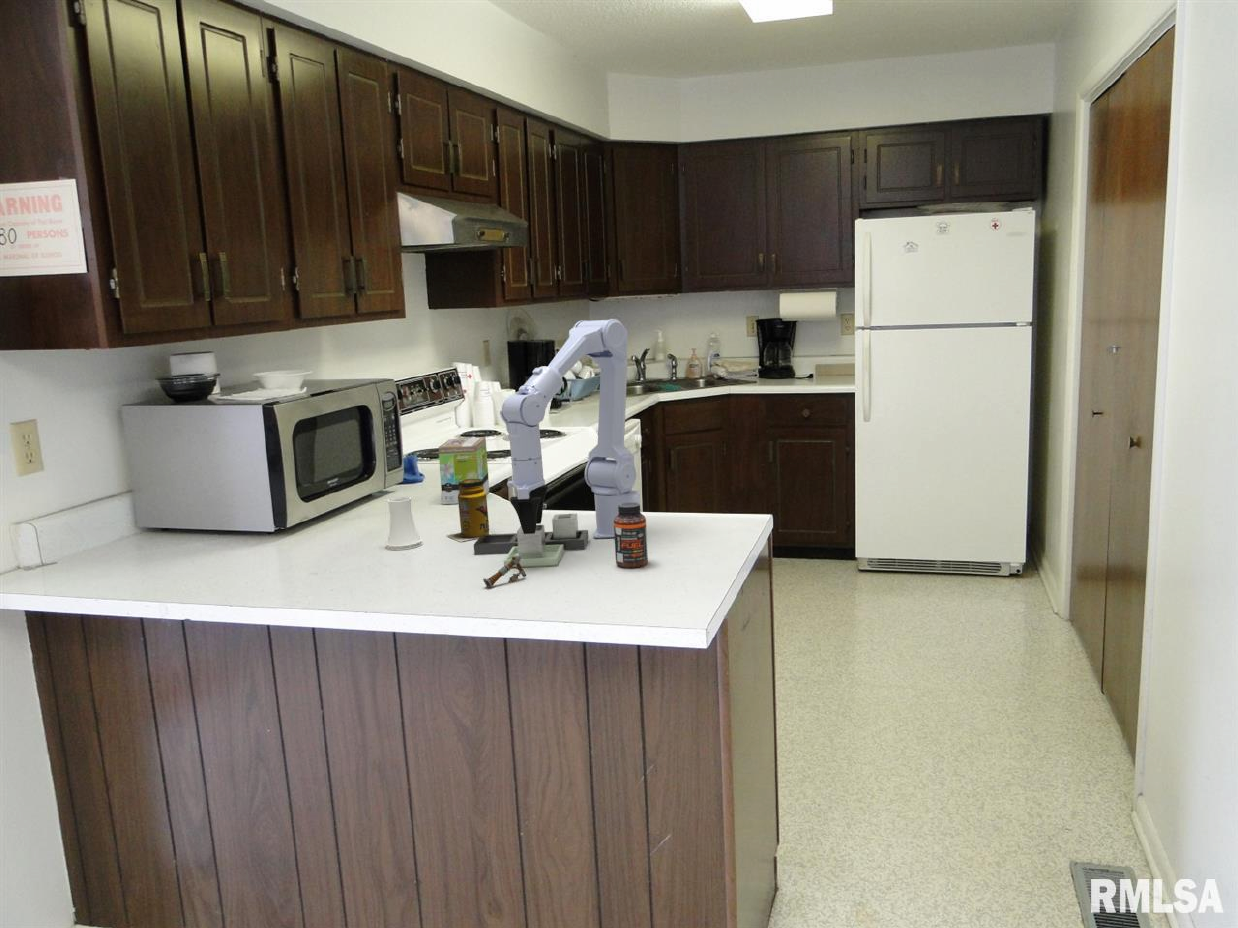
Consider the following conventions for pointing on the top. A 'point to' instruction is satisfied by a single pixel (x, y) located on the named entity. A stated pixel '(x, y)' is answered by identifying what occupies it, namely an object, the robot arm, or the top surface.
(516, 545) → the rack frame
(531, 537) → the grey box
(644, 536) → the supplement bottle
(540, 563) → the parts tray
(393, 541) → the vase
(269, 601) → the top surface
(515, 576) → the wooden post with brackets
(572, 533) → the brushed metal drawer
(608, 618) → the top surface
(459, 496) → the condiment
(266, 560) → the top surface
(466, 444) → the tea box
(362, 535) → the top surface
